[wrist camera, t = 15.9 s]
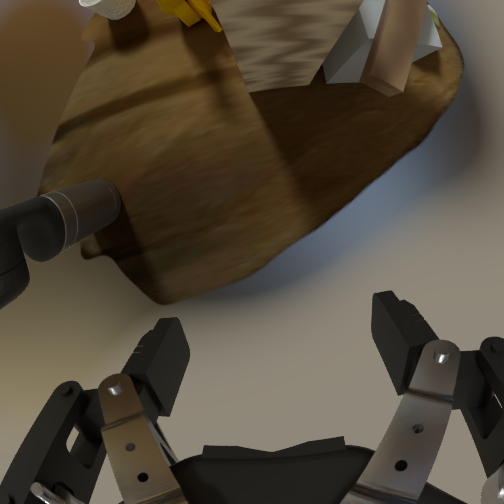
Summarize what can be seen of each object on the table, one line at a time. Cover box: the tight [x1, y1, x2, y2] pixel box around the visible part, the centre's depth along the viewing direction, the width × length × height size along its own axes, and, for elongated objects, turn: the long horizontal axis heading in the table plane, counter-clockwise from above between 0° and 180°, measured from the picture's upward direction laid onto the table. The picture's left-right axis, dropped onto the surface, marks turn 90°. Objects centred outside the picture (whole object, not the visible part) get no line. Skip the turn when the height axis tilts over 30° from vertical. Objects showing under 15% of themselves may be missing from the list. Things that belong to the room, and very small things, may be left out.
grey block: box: [322, 0, 442, 84], centre depth 26 cm, size 9×18×22 cm, turn 9°
